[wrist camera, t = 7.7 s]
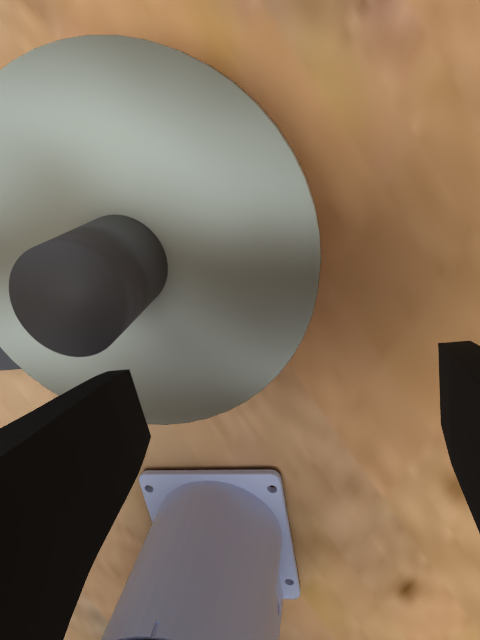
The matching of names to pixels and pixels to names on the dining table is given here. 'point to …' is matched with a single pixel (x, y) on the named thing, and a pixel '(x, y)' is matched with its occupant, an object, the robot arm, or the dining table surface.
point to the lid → (149, 227)
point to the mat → (7, 362)
